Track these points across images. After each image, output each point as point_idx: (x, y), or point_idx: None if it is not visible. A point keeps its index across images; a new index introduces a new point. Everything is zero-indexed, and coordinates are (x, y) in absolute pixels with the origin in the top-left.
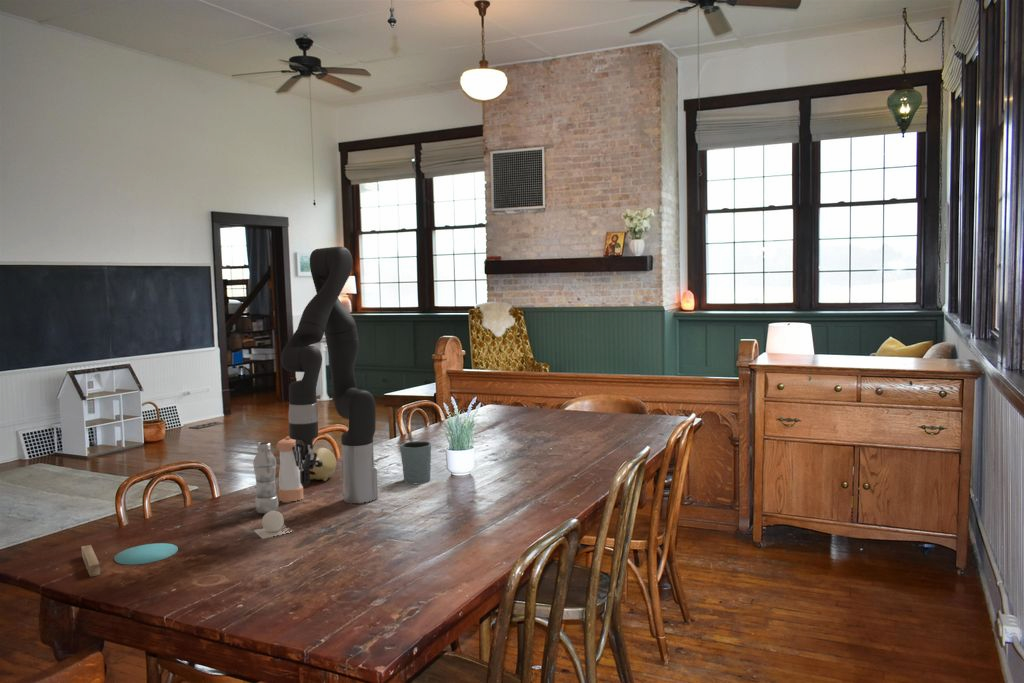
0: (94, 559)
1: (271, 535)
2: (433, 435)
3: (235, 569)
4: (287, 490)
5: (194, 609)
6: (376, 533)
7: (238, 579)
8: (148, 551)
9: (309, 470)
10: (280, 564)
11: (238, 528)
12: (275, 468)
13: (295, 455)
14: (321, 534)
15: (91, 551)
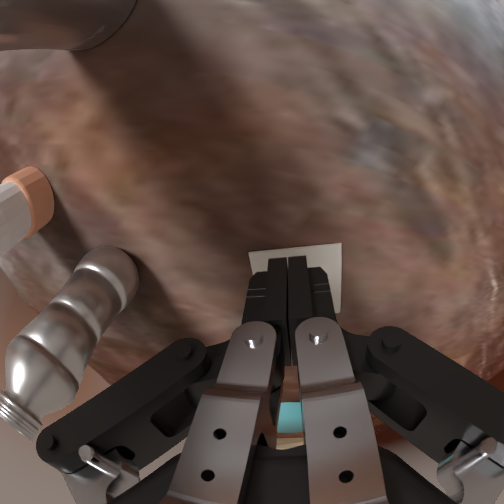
0: None
1: (334, 295)
2: None
3: (446, 351)
4: (31, 220)
5: (490, 371)
6: (473, 55)
7: (475, 346)
8: (283, 418)
9: (311, 319)
10: (485, 298)
11: (224, 335)
12: (45, 334)
13: (161, 453)
14: (407, 178)
15: (280, 449)
